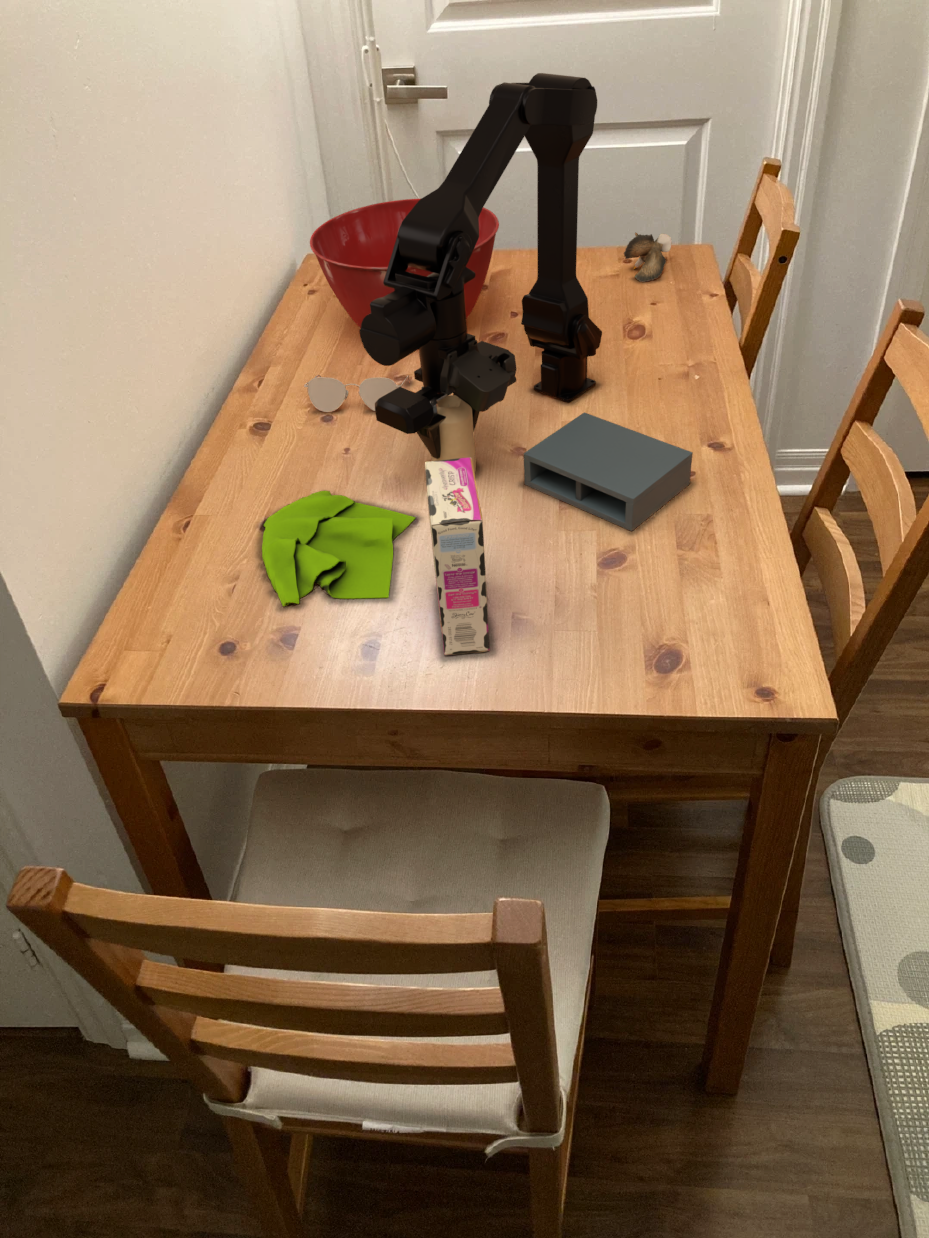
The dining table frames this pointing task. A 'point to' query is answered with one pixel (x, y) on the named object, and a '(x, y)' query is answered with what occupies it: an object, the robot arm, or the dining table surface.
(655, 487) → the shelf
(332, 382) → the sunglasses
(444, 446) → the candle
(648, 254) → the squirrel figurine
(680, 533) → the dining table surface
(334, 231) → the mixing bowl
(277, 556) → the cloth
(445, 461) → the candy bar box
